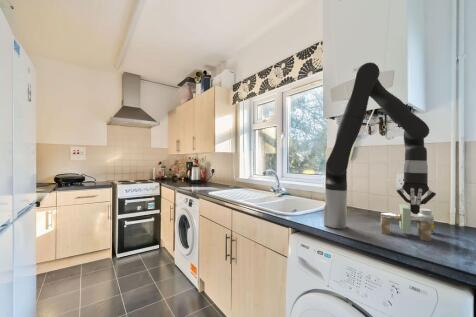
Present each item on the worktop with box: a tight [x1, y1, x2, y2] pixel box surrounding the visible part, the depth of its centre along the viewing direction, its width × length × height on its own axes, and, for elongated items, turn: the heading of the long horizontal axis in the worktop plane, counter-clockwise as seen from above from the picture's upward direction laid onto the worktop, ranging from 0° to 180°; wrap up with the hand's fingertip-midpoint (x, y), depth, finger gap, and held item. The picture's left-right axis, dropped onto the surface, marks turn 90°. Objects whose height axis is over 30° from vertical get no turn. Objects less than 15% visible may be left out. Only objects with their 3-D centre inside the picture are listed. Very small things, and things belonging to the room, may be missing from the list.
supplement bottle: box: [417, 208, 435, 235], centre depth 94 cm, size 5×5×10 cm
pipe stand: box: [380, 215, 432, 242], centre depth 89 cm, size 16×6×7 cm, turn 59°
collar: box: [398, 203, 412, 235], centre depth 89 cm, size 2×10×10 cm, turn 149°
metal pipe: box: [380, 212, 430, 224], centre depth 89 cm, size 16×3×3 cm, turn 59°
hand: (414, 213), depth 87 cm, fingers closed
